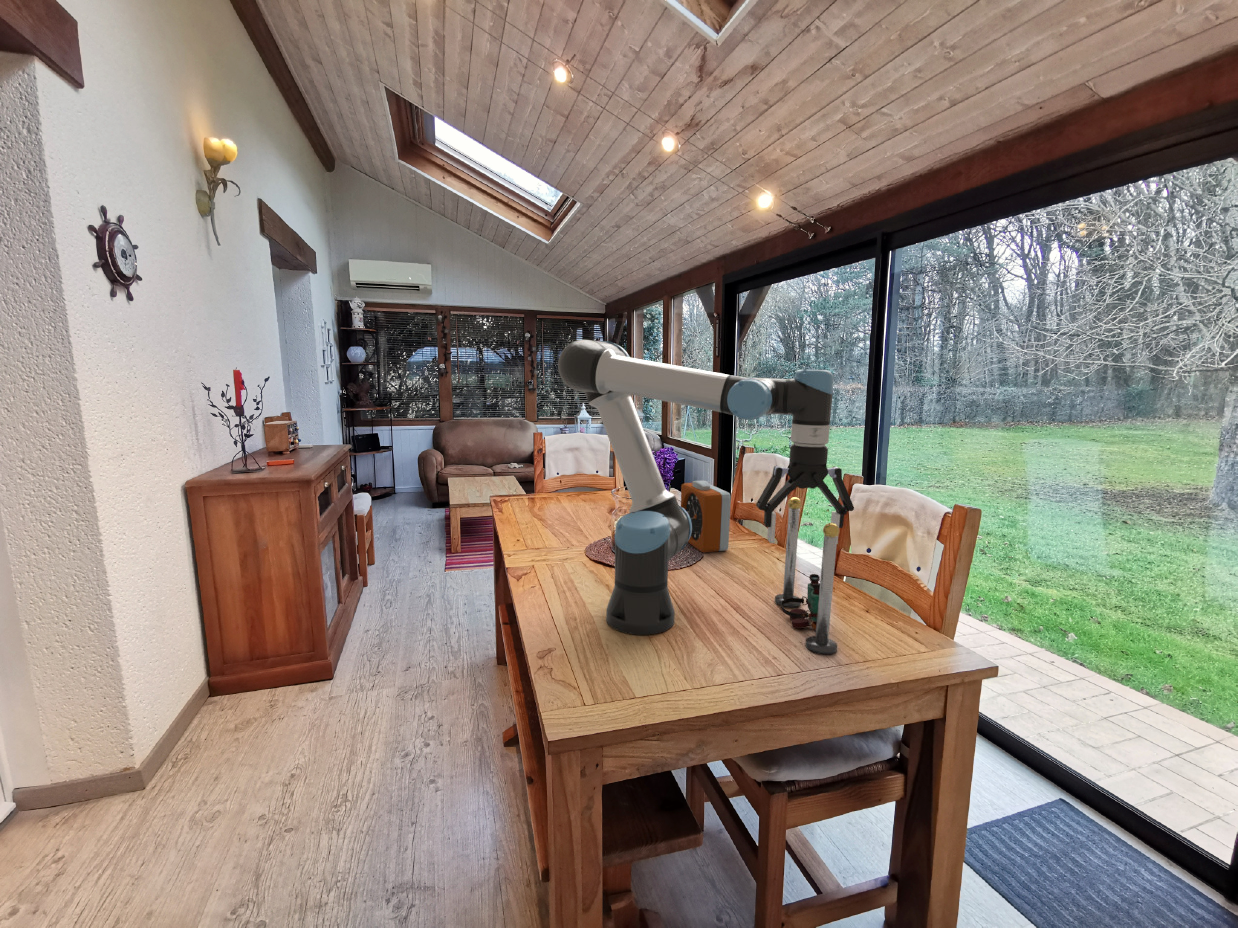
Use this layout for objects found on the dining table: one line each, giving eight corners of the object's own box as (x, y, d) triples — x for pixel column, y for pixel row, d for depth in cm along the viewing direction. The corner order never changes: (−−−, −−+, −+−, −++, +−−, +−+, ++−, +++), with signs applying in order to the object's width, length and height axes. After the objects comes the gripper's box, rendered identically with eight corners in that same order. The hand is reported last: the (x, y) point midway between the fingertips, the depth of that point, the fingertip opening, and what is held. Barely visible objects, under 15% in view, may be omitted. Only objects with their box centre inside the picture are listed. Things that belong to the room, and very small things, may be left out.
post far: (778, 607, 133) (786, 500, 128) (771, 597, 139) (778, 494, 134) (804, 608, 133) (812, 500, 128) (796, 597, 139) (803, 494, 134)
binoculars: (778, 572, 129) (824, 571, 126) (780, 616, 130) (825, 616, 128) (781, 586, 120) (830, 586, 118) (783, 633, 121) (832, 634, 119)
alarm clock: (678, 536, 187) (680, 476, 184) (702, 534, 190) (705, 474, 187) (703, 554, 170) (705, 487, 167) (729, 551, 173) (732, 486, 169)
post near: (811, 654, 111) (822, 527, 107) (801, 640, 117) (811, 518, 112) (841, 655, 111) (853, 527, 107) (830, 640, 117) (840, 519, 113)
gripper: (754, 446, 114) (748, 546, 118) (876, 447, 114) (867, 547, 118) (745, 441, 121) (740, 535, 125) (860, 442, 122) (852, 537, 125)
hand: (802, 541), depth 122 cm, fingers open, 13 cm apart
